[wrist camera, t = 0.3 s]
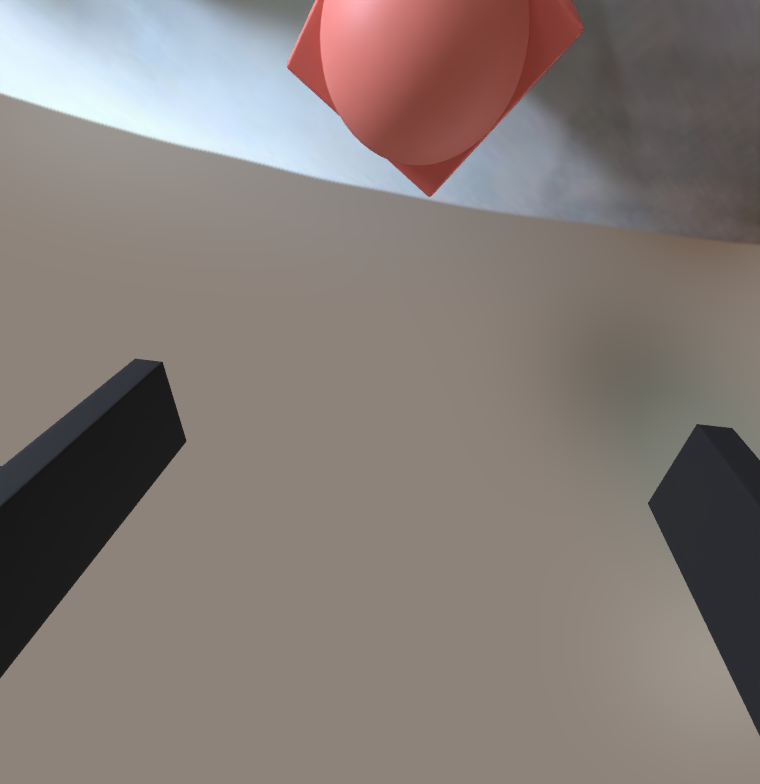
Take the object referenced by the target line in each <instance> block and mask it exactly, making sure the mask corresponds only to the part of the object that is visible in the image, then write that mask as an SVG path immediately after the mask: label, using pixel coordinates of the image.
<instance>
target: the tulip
mask: <svg viewBox="0 0 760 784" xmlns="http://www.w3.org/2000/svg"><path fill="white" fill-rule="evenodd" d="M582 31H583V25H582V23H581V20H580V18H579V15H578V13H577V10H576V8H575V6H574V3H573V1H572V0H315V2H314V5H313V7H312V9H311V11H310V14H309V16H308V18H307V20H306V22H305V25H304V27H303V29H302V31H301V33H300V36H299V38H298V40H297V42H296V44H295V47H294V49H293V51H292V53H291V55H290V58H289V60H288V62H287V68H288V69H289V70H290V71H291V72H292V73H293V74H294V75H295V76H297V77H298V78H299V79H300V80H301V81H302V82H303V83H304V84H305V85H306V86H308V87H309V88H310V89H311V90H312V91H313V92H314V93H315V94H316V95H317V96H318V97H320V98H321V99H322V100H323V101H324V102H325V103H326V104H327V105H328V106H329V107H331V108H332V109H333V110H334V111H335V112H336V113H337V114H338V115H339V116H340V117H341V118H342V120H343V122H344V123H345V125H346V126H347V127H348V129H349V130H350V131H351V132H352V134H353V135H354V136H355V137H356V138H357V139H358V140H359V141H360V142H361V143H362V144H364V145H365V146H366V147H367V148H369V149H370V150H371V151H373V152H375V153H376V154H378V155H379V156H381V157H384V158H386V159H388V160H389V161H390V162H391V163H392V164H393V165H394V166H395V167H396V168H398V169H399V170H400V171H401V172H402V173H403V174H404V175H405V176H406V177H407V178H408V179H410V180H411V181H412V182H413V183H414V184H415V185H416V186H417V187H418V188H419V189H421V190H422V191H423V192H424V193H425V194H426V195H427V196H429V197H430V196H432V195H433V194H434V193H435V192H436V191H437V190H438V188H439V187H440V186H441V185H442V184H443V183H444V182H445V181H446V180H447V179H448V178H449V177H450V175H451V174H452V173H453V172H454V171H455V170H456V169H457V168H458V167H459V166H460V165H461V164H462V162H463V161H464V160H465V159H466V158H467V157H468V156H469V155H470V154H471V153H472V152H473V150H474V149H475V148H476V147H477V146H478V145H479V144H480V143H481V142H482V141H483V140H484V139H485V137H486V136H487V135H488V134H489V133H490V132H491V131H492V130H493V129H494V128H495V127H496V125H497V124H498V123H499V122H500V121H501V120H502V119H503V118H504V117H505V116H506V115H507V114H508V112H509V111H510V110H511V109H512V108H513V107H514V106H515V105H516V104H517V103H518V102H519V101H520V99H521V98H522V97H523V96H524V95H525V94H526V93H527V92H528V91H529V90H530V89H531V87H532V86H533V85H534V84H535V83H536V82H537V81H538V80H539V79H540V78H541V77H542V76H543V74H544V73H545V72H546V71H547V70H548V69H549V68H550V67H551V66H552V65H553V64H554V63H555V61H556V60H557V59H558V58H559V57H560V56H561V55H562V54H563V53H564V52H565V51H566V49H567V48H568V47H569V46H570V45H571V44H572V43H573V42H574V41H575V40H576V39H577V38H578V36H579V35H580V34H581V33H582Z"/></svg>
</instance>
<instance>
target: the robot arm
mask: <svg viewBox="0 0 760 784" xmlns="http://www.w3.org/2000/svg"><path fill="white" fill-rule="evenodd" d="M185 442H186V438H185V435H184V431H183V428H182V425H181V421H180V418H179V415H178V412H177V408H176V405H175V402H174V398H173V395H172V392H171V388H170V385H169V382H168V379H167V375H166V372H165V368H164V366H163V362H159V361H150V360H142V359H134V360H133V361H132V362H130V363H129V364H128V365H127V366H125V367H124V368H123V369H122V370H121V371H119V372H118V373H117V374H116V375H114V376H113V377H112V378H111V379H109V380H108V381H107V382H106V383H105V384H103V385H102V386H101V387H100V388H98V389H97V390H96V391H95V392H94V393H92V394H91V395H90V396H88V397H87V398H86V399H85V400H83V401H82V402H81V403H80V404H79V405H77V406H76V407H75V408H74V409H72V410H71V411H70V412H69V413H68V414H66V415H65V416H64V417H63V418H61V419H60V420H59V421H57V422H56V423H55V424H54V425H53V426H51V427H50V428H49V429H48V430H46V431H45V432H44V433H43V434H41V435H40V436H39V437H38V438H36V439H35V440H34V441H33V442H32V443H30V444H29V445H28V446H27V447H25V448H24V449H23V450H22V451H20V452H19V453H18V454H17V455H15V456H14V457H13V458H12V459H11V460H9V461H8V462H7V463H6V464H4V465H3V466H0V678H1V677H2V675H3V674H4V673H5V671H6V670H7V669H8V667H9V666H10V665H11V664H12V663H13V661H14V660H15V659H16V657H17V656H18V655H19V654H20V652H21V651H22V650H23V649H24V647H25V646H26V644H27V643H28V642H29V641H30V639H31V638H32V637H33V636H34V635H35V633H36V632H37V631H38V629H39V628H40V627H41V626H42V624H43V623H44V622H45V620H46V619H47V618H48V617H49V615H50V614H51V613H52V612H53V610H54V609H55V608H56V606H57V605H58V604H59V603H60V601H61V600H62V599H63V597H64V596H65V595H66V594H67V593H68V591H69V590H70V589H71V587H72V586H73V585H74V584H75V582H76V581H77V580H78V579H79V577H80V576H81V575H82V573H83V572H84V571H85V569H86V568H87V567H88V566H89V565H90V563H91V562H92V561H93V559H94V558H95V557H96V556H97V554H98V553H99V552H100V551H101V549H102V548H103V547H104V545H105V544H106V543H107V542H108V540H109V539H110V538H111V537H112V535H113V534H114V532H115V531H116V530H117V529H118V528H119V526H120V525H121V524H122V523H123V521H124V520H125V519H126V517H127V516H128V515H129V514H130V512H131V511H132V510H133V509H134V507H135V506H136V505H137V503H138V502H139V501H140V499H141V498H142V497H143V496H144V495H145V493H146V492H147V490H148V489H149V488H150V487H151V486H152V484H153V483H154V482H155V481H156V479H157V478H158V477H159V475H160V474H161V473H162V472H163V470H164V469H165V468H166V467H167V465H168V464H169V463H170V461H171V460H172V459H173V458H174V456H175V455H176V453H178V451H179V450H180V449H181V447H182V446H183V445H184V444H185ZM648 504H649V507H650V509H651V511H652V513H653V515H654V517H655V519H656V521H657V523H658V525H659V527H660V529H661V532H662V533H663V536H664V538H665V540H666V542H667V544H668V546H669V548H670V550H671V552H672V554H673V556H674V559H675V561H676V563H677V565H678V567H679V569H680V571H681V573H682V575H683V577H684V579H685V581H686V583H687V586H688V588H689V590H690V592H691V594H692V596H693V598H694V600H695V602H696V604H697V606H698V608H699V610H700V613H701V615H702V617H703V619H704V621H705V623H706V625H707V627H708V629H709V631H710V633H711V635H712V638H713V639H714V642H715V644H716V646H717V648H718V650H719V652H720V654H721V656H722V658H723V660H724V662H725V664H726V666H727V669H728V671H729V673H730V675H731V677H732V679H733V681H734V683H735V685H736V687H737V689H738V692H739V693H740V696H741V697H742V700H743V702H744V704H745V706H746V708H747V710H748V712H749V714H750V716H751V718H752V720H753V723H754V725H755V727H756V729H757V731H758V733H759V735H760V460H759V459H758V458H757V457H756V455H755V454H754V453H753V452H752V451H751V450H750V448H749V447H748V446H747V445H746V444H745V442H744V441H743V440H742V439H741V438H740V437H739V436H738V434H737V433H736V432H735V431H734V430H733V429H732V428H725V427H716V426H708V425H699V424H697V425H696V427H695V428H694V430H693V431H692V433H691V435H690V436H689V438H688V440H687V441H686V443H685V444H684V446H683V448H682V449H681V451H680V452H679V454H678V456H677V457H676V459H675V460H674V462H673V464H672V465H671V467H670V469H669V470H668V472H667V473H666V475H665V477H664V478H663V480H662V482H661V483H660V485H659V486H658V488H657V490H656V491H655V493H654V494H653V496H652V498H651V499H650V501H649V502H648Z"/></svg>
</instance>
